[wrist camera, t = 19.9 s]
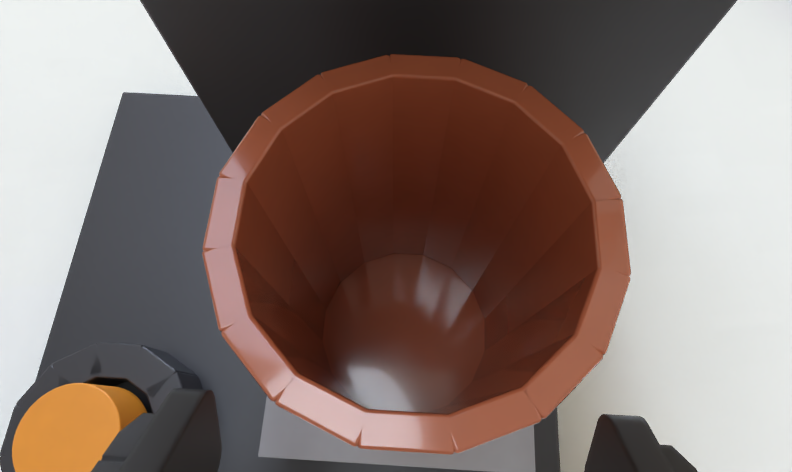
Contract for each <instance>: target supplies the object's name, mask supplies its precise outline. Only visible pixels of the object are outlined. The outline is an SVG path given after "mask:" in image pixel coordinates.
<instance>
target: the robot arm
mask: <svg viewBox="0 0 792 472" xmlns="http://www.w3.org/2000/svg"><path fill="white" fill-rule="evenodd" d="M221 451H222V443H221V435H220V428H219V422H218V415H217V408H216V401H215V395H214V393H213V391H212V390H202V389H185V388H174V389H172V390H171V391H170V392H169V394H168V395H167V397H166V398H165V400H164V401H163V403H162V404H161V406H160V407H159V409H158V410H157V412H156V414H154V413H142V414H141V415H140V416H138V417H137V418H136V419H135V420H133V421H132V422H131V423H130V424H128V425H127V426H126V427H125V428H123V429H122V430H121V431H120V432H119V433H118V434H117V435H116V437H115V438H114V440H113V441H112V442H111V444H110V445H109V447H108V448H107V449H106V451H105V452H104V454H103V455H102V459H101V461H100V460H99V461H98V462H97V464H96V465H95V466H94V468H93V469H92V471H91V472H217V471H218V468H219V464H220V459H221ZM584 472H697V470H696V468H695V467H694V466H692V465H691V464H690V463H689V462H688V461H687V460H686V459H685V458H684V457H683V456H682V455H681V454H680V453H679V452H678V451H677V450H675V449H674V448H673V447H672V446H670V445H659V443H658V441H657V439H656V438H655V436H654V434H653V432H652V430H651V429H650V427H649V425H648V424H647V422H646V421H645V420H644V419H643V418H642V417H640V416H625V415H608V414H603V415H601V416H600V417H599V419H598V422H597V426H596V429H595V433H594V436H593V440H592V443H591V447H590V451H589V454H588V458H587V461H586V465H585V471H584Z"/></svg>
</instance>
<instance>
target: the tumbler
mask: <svg viewBox="0 0 792 472" xmlns="http://www.w3.org/2000/svg"><path fill="white" fill-rule="evenodd" d="M202 257H203V261H204V266H205V270H206V275H207V279H208V284H209V288H210V293H211V298H212V302H213V307H214V311H215V316H216V320H217V325H218V329H219V331H221V335H222V337H223V338H224V340H225V341H226V342H227V344H228V345H229V346H230V348H231V349H232V350H233V351H234V353H235V354H236V355H237V357H238V358H239V359H240V361H241V362H242V363H243V365H244V366H245V367H246V369H247V370H248V371H249V373H250V374H251V375H252V377H253V378H254V379H255V381H256V382H257V383H258V384H259V386H260V387H261V388H262V390H263V391H264V392H265V394H266V395H267V396H268V398H269V399H270V400H271V401H273V402H275V404H276V405H277V406H278V407H280V408H282V409H284V410H285V411H287V412H289V413H291V414H293V415H295V416H297V417H299V418H300V419H302V420H304V421H306V422H308V423H310V424H312V425H313V426H315V427H317V428H319V429H321V430H323V431H325V432H327V433H328V434H330V435H332V436H334V437H336V438H338V439H340V440H341V441H343V442H345V443H347V444H349V445H351V446H353V447H357V446H358V448H360V449H365V450H380V451H396V452H411V453H427V454H442V455H452V454H454V453H458V454H459V453H462V452H464V451H467V450H469V449H472V448H475V447H477V446H480V445H482V444H485V443H488V442H490V441H493V440H495V439H498V438H501V437H503V436H506V435H508V434H511V433H514V432H516V431H519V430H521V429H524V428H527V427H529V426H532V425H534V424H537V423H539V422H540V421H541V419H545V418H547V417H548V416H549V415H550V414H551V413H552V411H553V410H554V409H555V408H556V407H557V406H558V405H559V404H560V403H561V402H562V401H563V400H564V399H565V398H566V397H567V396H568V395H569V394H570V393H571V392H572V391H573V389H574V388H575V387H576V386H577V385H578V384H579V383H580V382H581V381H582V380H583V379H584V378H585V377H586V376H587V375H588V374H589V373H590V372H591V371H592V370H593V369H594V367H595V366H596V365H597V364H598V363H599V362H600V361H601V360H602V359H603V355H604V354H605V353H606V352H607V349H608V346H609V343H610V340H611V337H612V334H613V331H614V328H615V325H616V322H617V318H618V315H619V312H620V309H621V306H622V303H623V300H624V297H625V294H626V291H627V288H628V285H629V282H630V277H629V276H630V274H631V270H630V261H629V252H628V243H627V234H626V225H625V216H624V207H623V201H622V199H621V194H620V193H619V191H618V189H617V187H616V185H615V184H614V182H613V180H612V178H611V176H610V175H609V173H608V171H607V169H606V167H605V166H604V164H603V162H602V160H601V158H600V157H599V155H598V153H597V151H596V149H595V148H594V146H593V144H592V142H591V141H590V139H589V137H588V135H587V134H586V133H584V130H583V129H582V128H581V127H580V126H578V125H577V124H576V123H575V122H574V121H572V120H571V119H570V118H569V117H568V116H567V115H565V114H564V113H563V112H562V111H561V110H559V109H558V108H557V107H556V106H555V105H554V104H552V103H551V102H550V101H549V100H548V99H546V98H545V97H544V96H543V95H542V94H541V93H539V92H538V91H537V90H536V89H535V88H533V87H532V86H531V85H529V86H528V84H527V83H526V82H523V81H521V80H518V79H515V78H513V77H510V76H508V75H505V74H503V73H500V72H497V71H495V70H492V69H490V68H487V67H485V66H482V65H479V64H477V63H474V62H472V61H469V60H467V59H461V60H460V58H458V57H444V56H424V55H405V54H390V56H389V55H382V56H379V57H375V58H372V59H368V60H364V61H361V62H357V63H353V64H350V65H346V66H343V67H339V68H335V69H332V70H328V71H324V72H322V73H321V75H320V74H317V75H316V76H314V77H313V78H311V79H310V80H308V81H307V82H305V83H304V84H303V85H301V86H300V87H298V88H297V89H295V90H294V91H292V92H291V93H290V94H288V95H287V96H285V97H284V98H282V99H281V100H279V101H278V102H277V103H275V104H274V105H272V106H271V107H269V108H268V109H266V110H265V111H264V112H262V114H261V116H258V117H257V119H256V120H255V122H254V123H253V125H252V126H251V128H250V129H249V130H248V132H247V133H246V135H245V136H244V138H243V139H242V141H241V142H240V144H239V145H238V146H237V148H236V149H235V151H234V152H233V154H232V155H231V157H230V158H229V160H228V161H227V162H226V164H225V165H224V167H223V168H222V170H221V171H220V173H219V177H218V178H217V181H216V186H215V190H214V195H213V200H212V205H211V210H210V214H209V219H208V224H207V229H206V233H205V238H204V243H203V252H202Z"/></svg>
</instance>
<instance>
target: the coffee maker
mask: <svg viewBox="0 0 792 472" xmlns="http://www.w3.org/2000/svg"><path fill="white" fill-rule="evenodd" d="M140 1H141V3H142V4H143V6H144V8H145V9H146V11H147V13H148V14H149V16H150V18H151V19H152V21H153V22H154V24H155V26H156V27H157V29H158V31H159V32H160V34H161V36H162V37H163V39H164V41H165V42H166V44H167V46H168V47H169V49H170V50H171V52H172V54H173V55H174V57H175V59H176V60H177V62H178V64H179V65H180V67H181V69H182V70H183V72H184V74H185V75H186V77H187V79H188V80H189V82H190V83H191V85H192V87H193V88H194V90H195V92H196V93H197V95H198V97H199V98H200V100H201V102H202V103H203V105H204V107H205V108H206V110H207V112H208V113H209V115H210V116H211V118H212V120H213V121H214V123H215V125H216V126H217V128H218V130H219V131H220V133H221V135H222V136H223V138H224V140H225V141H226V143H227V144H228V146H229V148H230V149H231V151H232V153H233V152H234V151H235V149H236V148H237V146H238V145H239V144H240V142H241V141H242V139H243V138H244V136H245V135H246V133H247V132H248V130H249V129H250V128H251V126H252V125H253V123H254V122H255V120H256V119H257V117H258V116H261V114H262V112H264V111H265V110H266V109H268V108H269V107H271V106H272V105H274V104H275V103H277V102H278V101H279V100H281V99H282V98H284V97H285V96H287V95H288V94H290V93H291V92H292V91H294V90H295V89H297V88H298V87H300V86H301V85H303V84H304V83H305V82H307V81H308V80H310V79H311V78H313V77H314V76H316V75H317V74H320V75H321V73H322V72H324V71H328V70H332V69H335V68H339V67H343V66H346V65H350V64H353V63H357V62H361V61H364V60H368V59H372V58H375V57H379V56H382V55H389V56H390V54H405V55H424V56H444V57H458V58H460V60H461V59H467V60H469V61H472V62H474V63H477V64H479V65H482V66H485V67H487V68H490V69H492V70H495V71H497V72H500V73H503V74H505V75H508V76H510V77H513V78H515V79H518V80H521V81H523V82H526V83H527V84H528V86H529V85H531V86H532V87H533V88H535V89H536V90H537V91H538V92H539V93H541V94H542V95H543V96H544V97H545V98H546V99H548V100H549V101H550V102H551V103H552V104H554V105H555V106H556V107H557V108H558V109H559V110H561V111H562V112H563V113H564V114H565V115H567V116H568V117H569V118H570V119H571V120H572V121H574V122H575V123H576V124H577V125H578V126H580V127H581V128H582V129H583V130H584V133H586V134H587V135H588V137H589V139H590V141H591V142H592V144H593V146H594V148H595V149H596V151H597V153H598V155H599V157H600V158H601V160H602V162H603V163H604V162H605V161H606V159H607V158H608V157H609V156H610V155H611V153H612V152H613V151H614V150H615V149H616V147H617V146H618V145H619V144H620V142H621V141H622V140H623V139H624V138H625V136H626V135H627V134H628V133H629V131H630V130H631V129H632V128H633V127H634V125H635V124H636V123H637V122H638V121H639V119H640V118H641V117H642V116H643V114H644V113H645V112H646V111H647V110H648V108H649V107H650V106H651V105H652V103H653V102H654V101H655V100H656V99H657V97H658V96H659V95H660V94H661V93H662V91H663V90H664V89H665V88H666V86H667V85H668V84H669V83H670V82H671V80H672V79H673V78H674V77H675V76H676V74H677V73H678V72H679V71H680V69H681V68H682V67H683V66H684V65H685V63H686V62H687V61H688V60H689V58H690V57H691V56H692V55H693V54H694V52H695V51H696V50H697V49H698V48H699V46H700V45H701V44H702V43H703V41H704V40H705V39H706V38H707V37H708V35H709V34H710V33H711V32H712V30H713V29H714V28H715V27H716V26H717V24H718V23H719V22H720V21H721V20H722V18H723V17H724V16H725V15H726V13H727V12H728V11H729V10H730V9H731V7H732V6H733V5H734V4H735V3H736V1H737V0H140ZM258 457H268V458H284V459H300V460H315V461H331V462H347V463H362V464H378V465H394V466H409V467H425V468H441V469H456V470H472V471H487V472H535V447H534V425H532V426H529V427H527V428H524V429H521V430H519V431H516V432H514V433H511V434H508V435H506V436H503V437H501V438H498V439H495V440H493V441H490V442H488V443H485V444H482V445H480V446H477V447H475V448H472V449H469V450H467V451H464V452H462V453H459V454H458V453H454V454H452V455H442V454H427V453H411V452H396V451H380V450H365V449H360V448H358V446H357V447H353V446H351V445H349V444H347V443H345V442H343V441H341V440H340V439H338V438H336V437H334V436H332V435H330V434H328V433H327V432H325V431H323V430H321V429H319V428H317V427H315V426H313V425H312V424H310V423H308V422H306V421H304V420H302V419H300V418H299V417H297V416H295V415H293V414H291V413H289V412H287V411H285V410H284V409H282V408H280V407H278V406H277V405H276V404H275V402H273V401H271V400H270V399H269V398H268V396H267V397H266V404H265V411H264V418H263V425H262V432H261V439H260V446H259V453H258Z"/></svg>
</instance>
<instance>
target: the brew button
mask: <svg viewBox="0 0 792 472" xmlns="http://www.w3.org/2000/svg"><path fill="white" fill-rule="evenodd" d="M142 413H147V411H146V408H145V406H144V405H143V403H142V402H141V400H140V399H139V398H138V397H137V396H136V395H135V394H133V393H132V392H130V391H128V390H126V389H124V388H120V387H114V386H105V385H96V384H88V383H71V384H66V385H63V386H60V387H57V388H55V389H53V390H51V391H49V392H47V393H46V394H45V395H43V396H42V397H40V398H39V399H38V400H37V401H36V402H35V403H34V404H33V405H32V406H31V407H30V408H29V409H28V411H27V412H26V413H25V415H24V416H23V418H22V419H21V421H20V423H19V425H18V427H17V430H16V432H15V435H14V440H13V445H12V460H13V466H14V469H15V472H91V471H92V469H93V468H94V466H95V465H96V464H97V462H98V461H99V460H100V461H101V459H102V455H103V454H104V452H105V451H106V449H107V448H108V447H109V445H110V444H111V442H112V441H113V440H114V438H115V437H116V435H117V434H118V433H119V432H120V431H121V430H122V429H123V428H125V427H126V426H127V425H128V424H130V423H131V422H132V421H133V420H135V419H136V418H137V417H138V416H140V415H141V414H142Z"/></svg>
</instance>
